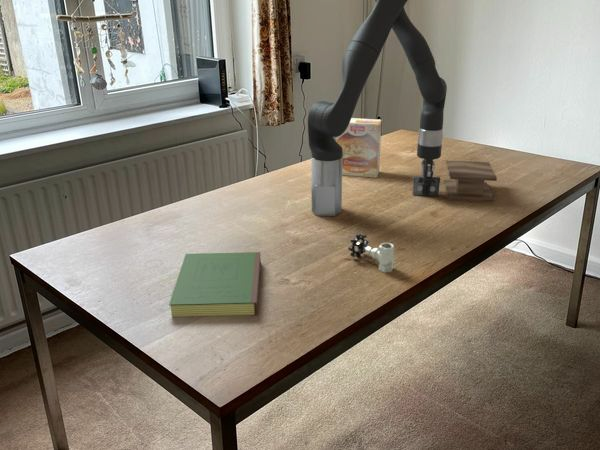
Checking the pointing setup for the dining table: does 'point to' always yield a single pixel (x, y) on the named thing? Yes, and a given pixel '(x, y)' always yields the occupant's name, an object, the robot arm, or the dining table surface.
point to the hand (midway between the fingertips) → (425, 193)
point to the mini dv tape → (419, 186)
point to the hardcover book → (217, 285)
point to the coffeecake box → (361, 147)
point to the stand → (469, 181)
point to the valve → (374, 252)
